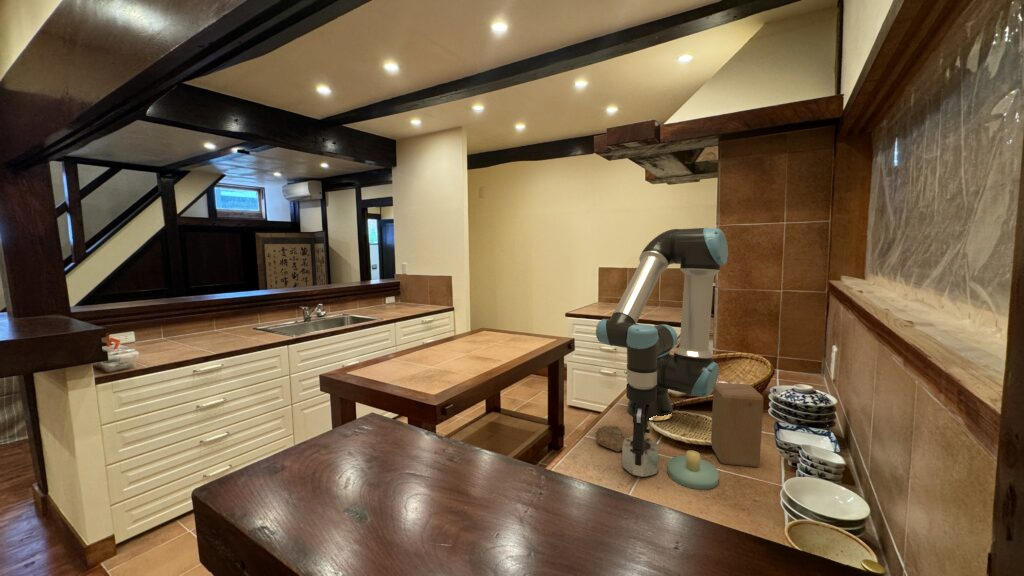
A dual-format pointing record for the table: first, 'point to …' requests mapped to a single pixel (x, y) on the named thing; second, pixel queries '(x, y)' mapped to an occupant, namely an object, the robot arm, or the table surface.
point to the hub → (693, 471)
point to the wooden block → (737, 424)
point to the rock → (610, 437)
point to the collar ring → (649, 456)
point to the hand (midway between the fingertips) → (640, 464)
